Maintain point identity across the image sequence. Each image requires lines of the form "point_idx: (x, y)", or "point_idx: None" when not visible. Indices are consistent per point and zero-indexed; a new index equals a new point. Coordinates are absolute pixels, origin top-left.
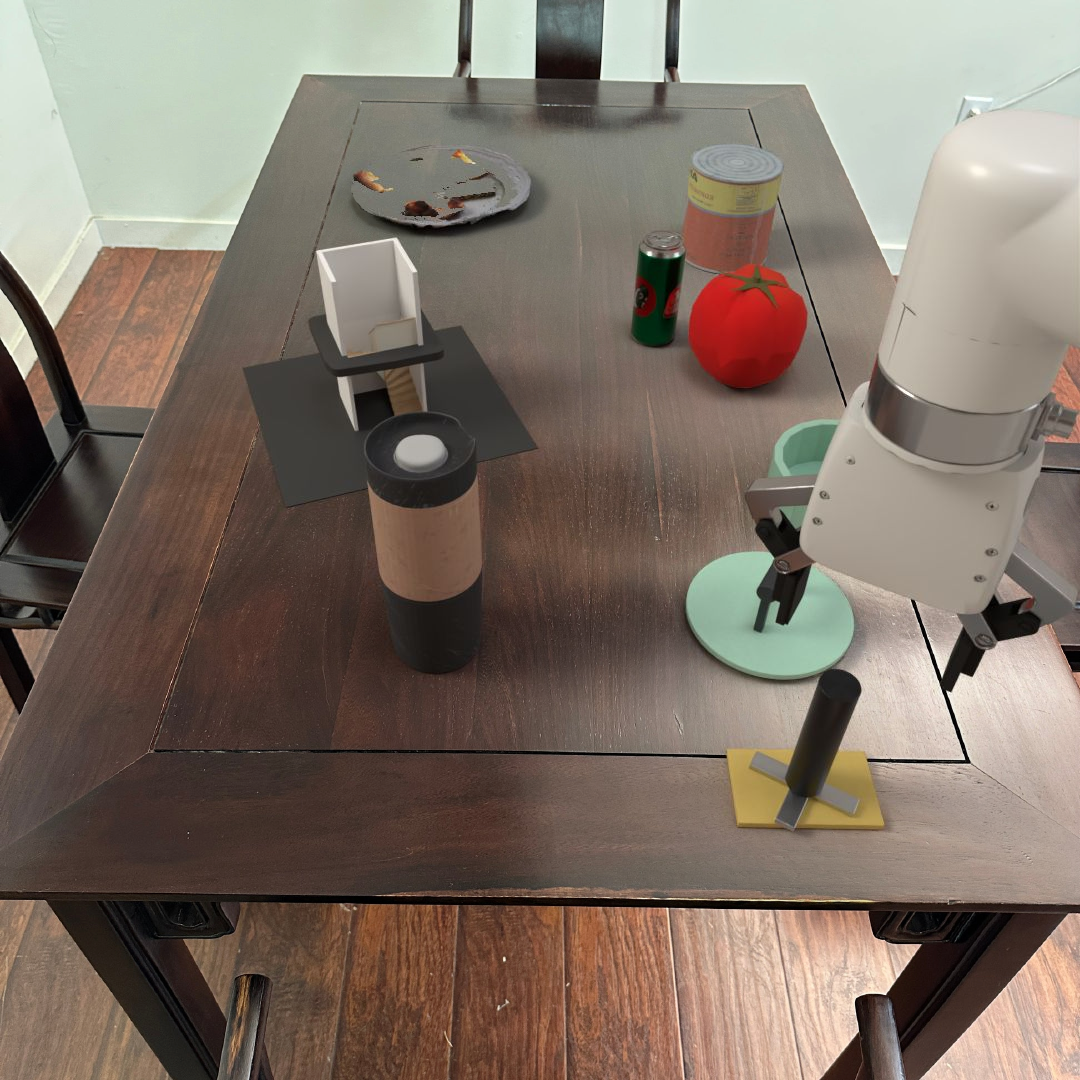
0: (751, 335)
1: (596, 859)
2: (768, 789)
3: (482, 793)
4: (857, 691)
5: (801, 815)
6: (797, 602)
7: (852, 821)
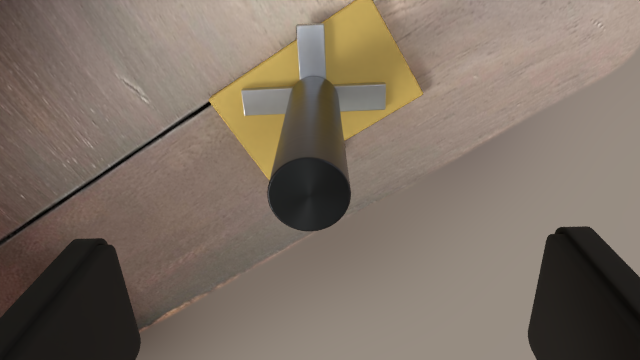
0: None
1: (175, 278)
2: (280, 127)
3: None
4: (343, 193)
5: None
6: (113, 319)
7: (386, 112)
